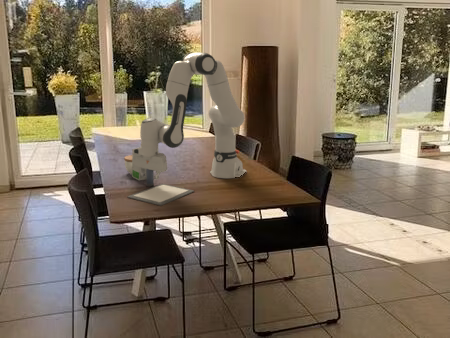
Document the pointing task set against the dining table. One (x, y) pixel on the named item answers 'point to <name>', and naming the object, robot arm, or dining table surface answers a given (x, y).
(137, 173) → the skincare box
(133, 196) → the mat
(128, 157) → the lidded bowl
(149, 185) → the marker
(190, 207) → the dining table surface
